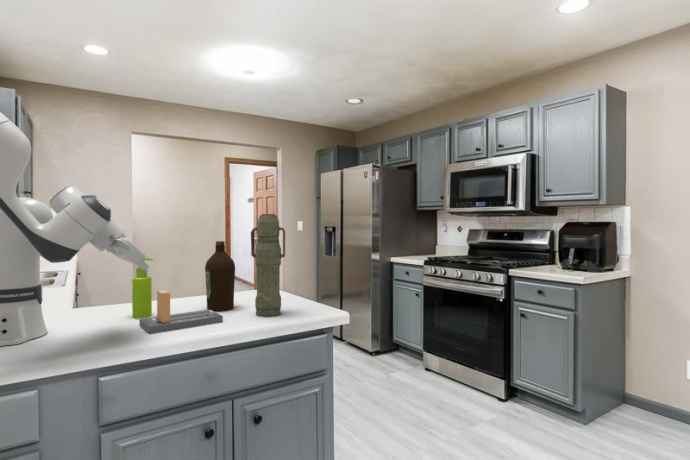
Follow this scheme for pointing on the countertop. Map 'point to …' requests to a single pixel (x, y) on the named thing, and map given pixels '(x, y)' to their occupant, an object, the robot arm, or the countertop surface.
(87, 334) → the countertop surface
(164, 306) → the fader lever
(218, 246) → the olive oil
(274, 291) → the thermos
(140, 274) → the soap dispenser
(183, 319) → the console
